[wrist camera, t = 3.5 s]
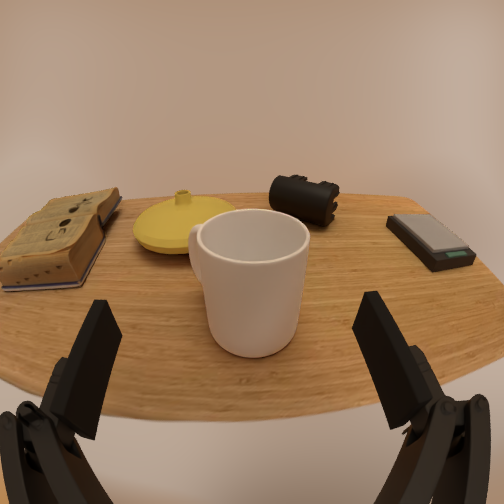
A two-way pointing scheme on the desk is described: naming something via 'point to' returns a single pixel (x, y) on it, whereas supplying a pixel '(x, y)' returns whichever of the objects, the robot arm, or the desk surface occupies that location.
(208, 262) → the cup
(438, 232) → the scale
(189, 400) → the desk surface
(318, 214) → the end cap
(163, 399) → the desk surface
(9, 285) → the book
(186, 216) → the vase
